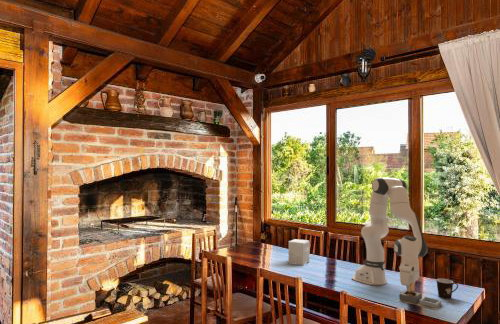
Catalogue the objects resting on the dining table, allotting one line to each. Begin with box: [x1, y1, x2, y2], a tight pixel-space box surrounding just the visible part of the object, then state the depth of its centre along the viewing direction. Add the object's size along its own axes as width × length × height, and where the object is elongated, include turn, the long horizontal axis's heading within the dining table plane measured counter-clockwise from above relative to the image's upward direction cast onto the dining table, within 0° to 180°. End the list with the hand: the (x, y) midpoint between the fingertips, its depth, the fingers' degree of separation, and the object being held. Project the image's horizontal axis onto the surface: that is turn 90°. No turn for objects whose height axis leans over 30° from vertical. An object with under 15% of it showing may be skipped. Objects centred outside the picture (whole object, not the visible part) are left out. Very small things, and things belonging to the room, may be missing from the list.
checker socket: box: [398, 289, 423, 305], centre depth 201 cm, size 9×9×4 cm
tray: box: [419, 296, 442, 310], centre depth 194 cm, size 9×9×2 cm
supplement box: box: [288, 238, 310, 266], centre depth 288 cm, size 13×13×18 cm
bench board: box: [397, 299, 443, 311], centre depth 198 cm, size 20×11×1 cm, turn 47°
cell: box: [407, 282, 416, 296], centre depth 202 cm, size 4×4×9 cm
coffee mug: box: [435, 278, 459, 300], centre depth 207 cm, size 12×9×10 cm
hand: (410, 290), depth 202 cm, fingers closed on cell, 4 cm apart
